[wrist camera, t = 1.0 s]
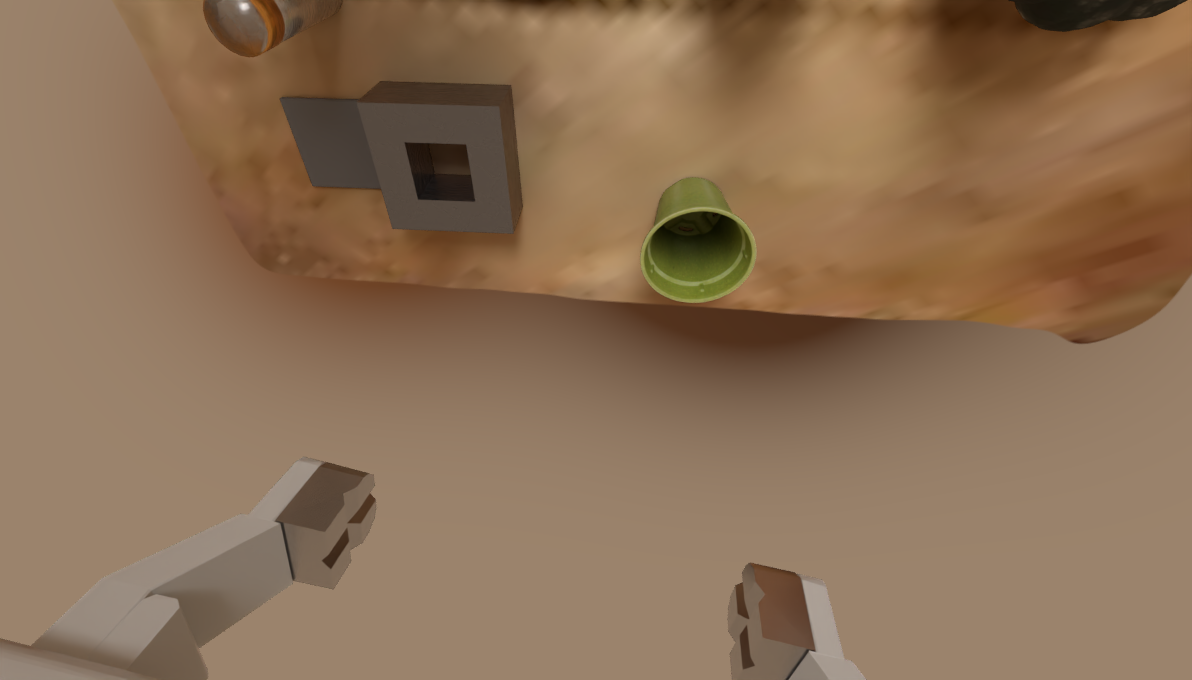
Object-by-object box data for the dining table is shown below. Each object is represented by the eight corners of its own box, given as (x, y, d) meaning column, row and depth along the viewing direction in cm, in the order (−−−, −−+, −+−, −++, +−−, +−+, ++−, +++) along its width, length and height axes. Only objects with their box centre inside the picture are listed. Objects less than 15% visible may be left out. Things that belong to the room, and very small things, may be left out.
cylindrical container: (284, -42, 39) (191, -14, 31) (334, -41, 39) (253, -13, 31) (303, 16, 42) (221, 56, 34) (349, 17, 41) (278, 57, 33)
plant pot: (729, 253, 54) (740, 308, 47) (635, 245, 54) (634, 298, 47) (753, 164, 47) (770, 213, 41) (647, 155, 47) (647, 202, 41)
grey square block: (380, 81, 45) (356, 102, 41) (511, 84, 44) (499, 106, 40) (410, 201, 52) (392, 228, 48) (522, 206, 52) (513, 233, 48)
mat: (281, 97, 46) (279, 98, 46) (373, 99, 46) (371, 101, 45) (314, 184, 51) (312, 186, 51) (396, 187, 51) (395, 189, 51)
